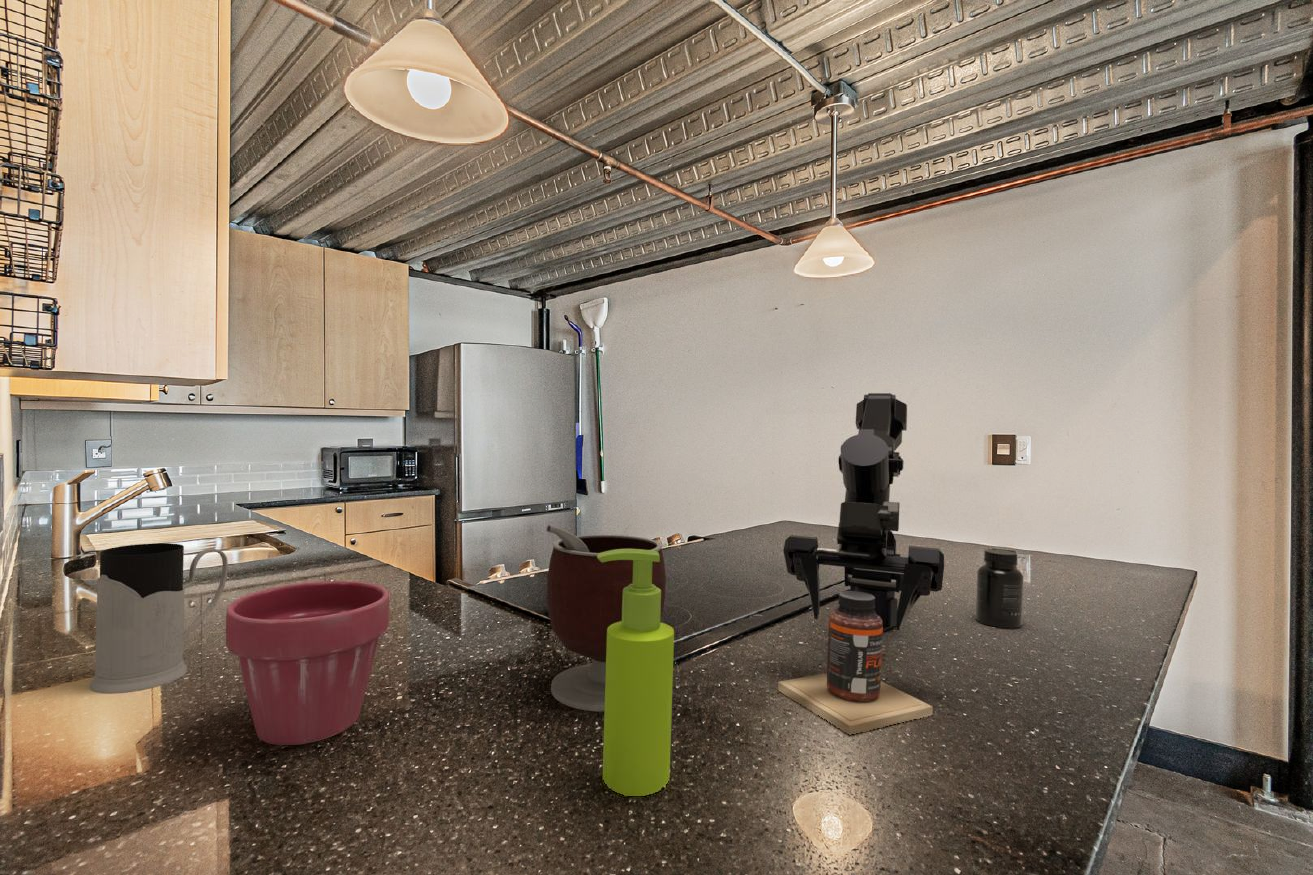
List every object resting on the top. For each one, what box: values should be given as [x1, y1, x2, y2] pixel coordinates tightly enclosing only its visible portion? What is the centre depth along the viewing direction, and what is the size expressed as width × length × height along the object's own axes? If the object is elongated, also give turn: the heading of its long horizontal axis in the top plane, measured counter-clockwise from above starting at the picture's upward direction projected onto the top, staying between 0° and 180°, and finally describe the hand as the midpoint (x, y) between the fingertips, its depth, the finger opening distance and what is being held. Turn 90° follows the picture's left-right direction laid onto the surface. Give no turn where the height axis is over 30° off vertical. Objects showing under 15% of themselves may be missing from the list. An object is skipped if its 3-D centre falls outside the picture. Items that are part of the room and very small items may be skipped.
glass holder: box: [88, 542, 229, 694], centre depth 75 cm, size 9×14×15 cm, turn 160°
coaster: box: [777, 672, 934, 736], centre depth 71 cm, size 12×12×1 cm
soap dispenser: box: [597, 549, 675, 797], centre depth 54 cm, size 6×7×20 cm
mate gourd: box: [546, 524, 667, 712], centre depth 73 cm, size 16×14×20 cm
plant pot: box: [225, 580, 390, 746], centre depth 62 cm, size 14×14×13 cm
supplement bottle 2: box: [975, 549, 1024, 630], centre depth 105 cm, size 7×7×12 cm
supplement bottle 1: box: [826, 590, 884, 701], centre depth 72 cm, size 6×6×11 cm
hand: (855, 622), depth 73 cm, fingers open, 9 cm apart
